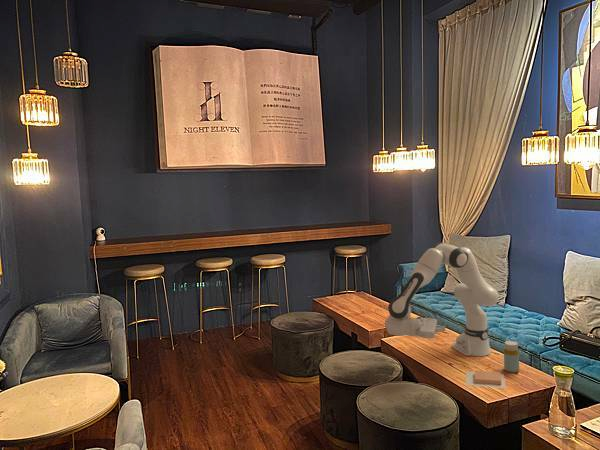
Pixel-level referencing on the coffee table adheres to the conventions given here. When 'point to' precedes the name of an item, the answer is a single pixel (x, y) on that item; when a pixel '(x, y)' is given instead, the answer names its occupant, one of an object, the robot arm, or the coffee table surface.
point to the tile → (487, 377)
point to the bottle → (511, 357)
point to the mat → (471, 381)
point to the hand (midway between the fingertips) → (445, 328)
